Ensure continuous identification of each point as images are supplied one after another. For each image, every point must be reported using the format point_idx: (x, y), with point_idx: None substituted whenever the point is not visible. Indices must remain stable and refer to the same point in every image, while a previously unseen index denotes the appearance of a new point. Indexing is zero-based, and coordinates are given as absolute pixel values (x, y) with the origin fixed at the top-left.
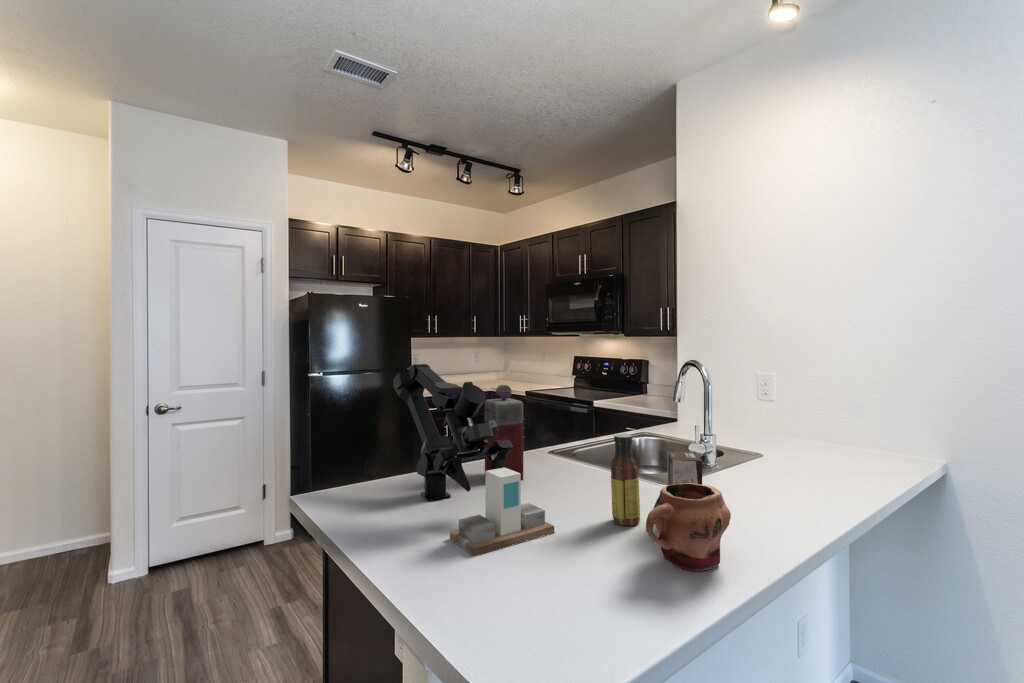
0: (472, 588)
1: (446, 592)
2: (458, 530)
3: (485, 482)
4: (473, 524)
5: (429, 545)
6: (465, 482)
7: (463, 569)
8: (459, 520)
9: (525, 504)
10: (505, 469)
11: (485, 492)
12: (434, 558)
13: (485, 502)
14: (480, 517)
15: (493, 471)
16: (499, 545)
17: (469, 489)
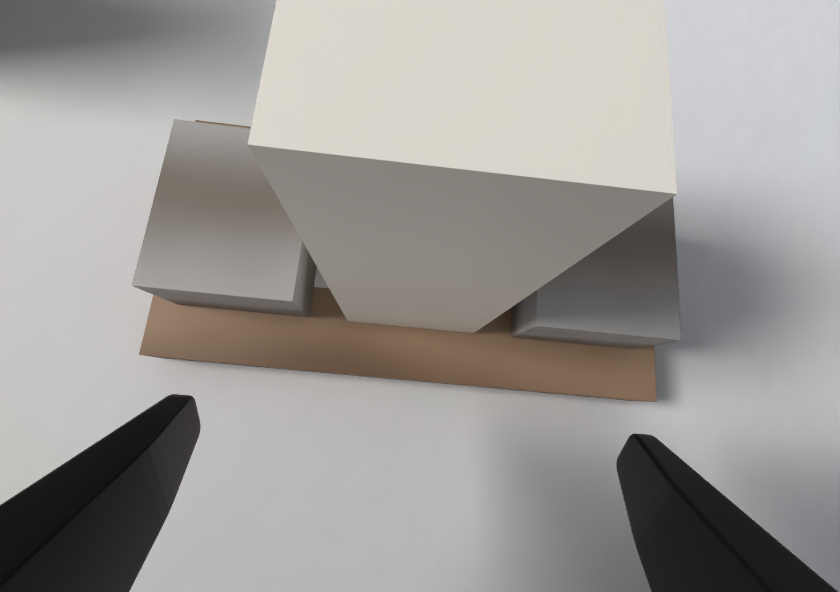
0: (733, 33)
1: (807, 63)
2: (612, 387)
3: (581, 258)
4: (644, 222)
5: (740, 400)
6: (728, 499)
7: (706, 137)
8: (678, 330)
9: (175, 274)
10: (334, 45)
11: (539, 287)
12: (764, 275)
13: (512, 305)
14: (557, 281)
15: (575, 86)
16: None
17: (647, 435)
